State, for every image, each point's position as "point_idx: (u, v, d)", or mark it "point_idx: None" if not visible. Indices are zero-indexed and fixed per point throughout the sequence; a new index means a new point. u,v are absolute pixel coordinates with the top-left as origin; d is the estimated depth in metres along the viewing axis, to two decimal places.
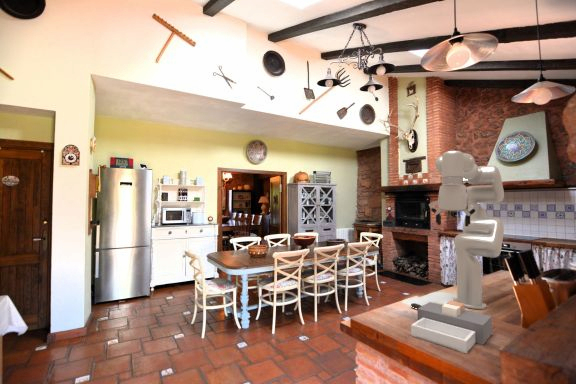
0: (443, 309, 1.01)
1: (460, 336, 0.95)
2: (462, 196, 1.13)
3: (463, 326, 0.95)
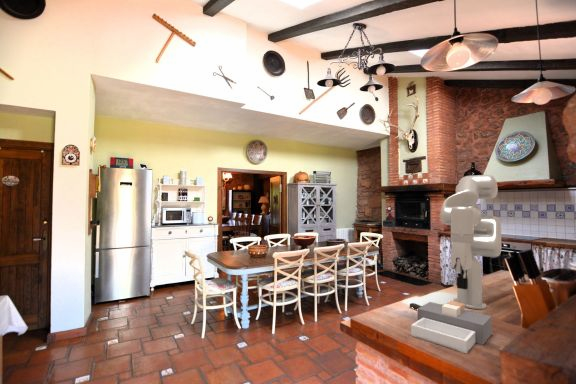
0: (443, 309, 1.01)
1: (460, 336, 0.95)
2: (471, 254, 1.13)
3: (463, 326, 0.95)
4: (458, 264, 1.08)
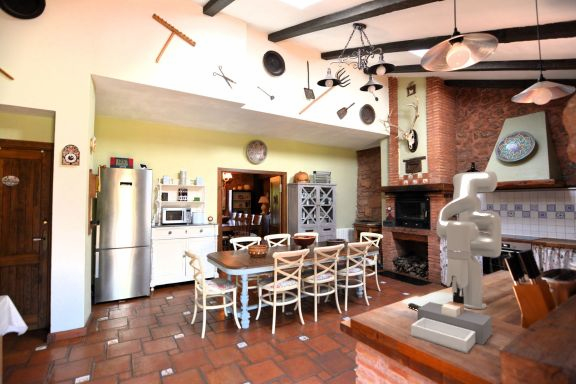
0: (443, 309, 1.01)
1: (460, 336, 0.95)
2: (467, 270, 1.09)
3: (463, 326, 0.95)
4: (454, 282, 1.04)
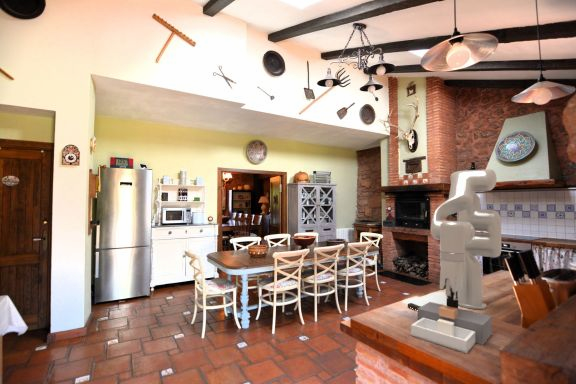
0: None
1: (460, 336, 0.95)
2: (462, 273, 1.04)
3: (463, 326, 0.95)
4: (447, 285, 0.99)
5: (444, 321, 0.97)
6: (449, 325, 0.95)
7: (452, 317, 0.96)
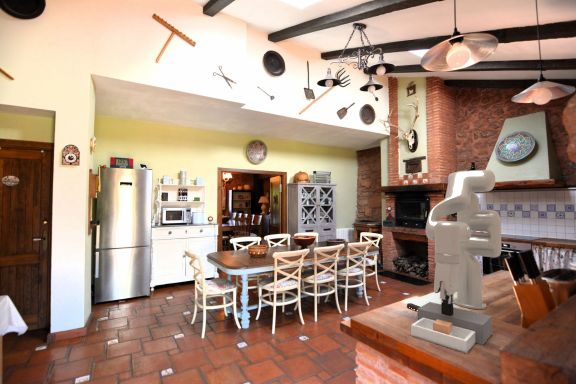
0: None
1: (460, 336, 0.95)
2: (457, 275, 1.00)
3: (463, 326, 0.95)
4: (442, 288, 0.96)
5: None
6: None
7: (447, 333, 0.91)
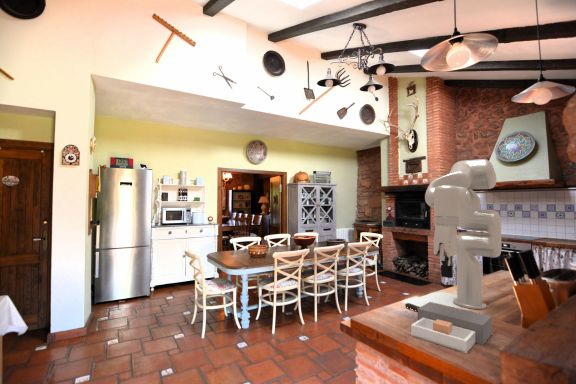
0: None
1: (460, 336, 0.95)
2: (457, 238, 1.01)
3: (463, 326, 0.95)
4: (442, 250, 0.96)
5: None
6: None
7: (447, 333, 0.91)
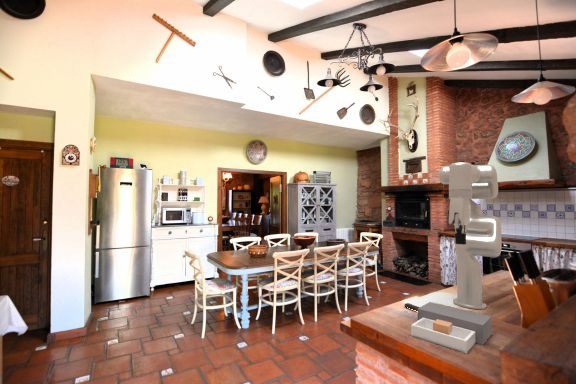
0: None
1: (460, 336, 0.95)
2: (469, 210, 1.12)
3: (463, 326, 0.95)
4: (456, 219, 1.08)
5: None
6: None
7: (447, 333, 0.91)
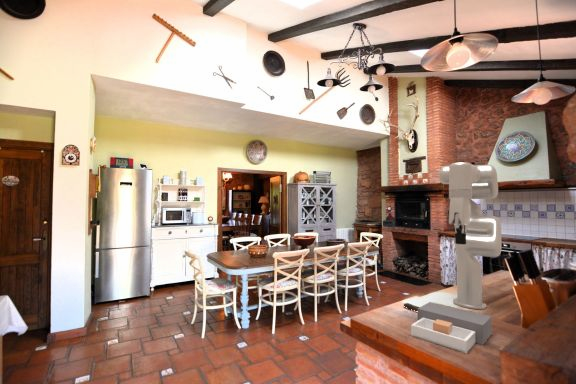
0: None
1: (460, 336, 0.95)
2: (469, 210, 1.12)
3: (463, 326, 0.95)
4: (456, 219, 1.08)
5: None
6: None
7: (447, 333, 0.91)
